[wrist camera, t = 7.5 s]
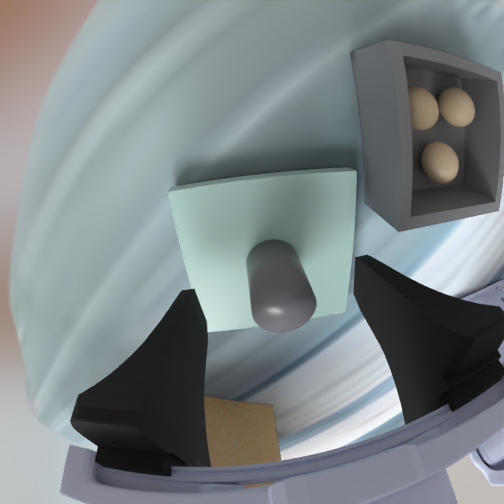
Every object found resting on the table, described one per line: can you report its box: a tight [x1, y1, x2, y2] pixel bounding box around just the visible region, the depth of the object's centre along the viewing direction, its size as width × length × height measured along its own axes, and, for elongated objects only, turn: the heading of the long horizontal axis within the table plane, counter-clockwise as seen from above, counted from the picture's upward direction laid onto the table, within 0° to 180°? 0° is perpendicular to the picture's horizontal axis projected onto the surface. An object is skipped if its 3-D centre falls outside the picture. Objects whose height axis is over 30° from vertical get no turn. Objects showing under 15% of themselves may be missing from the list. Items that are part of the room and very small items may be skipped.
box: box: [350, 40, 504, 232], centre depth 10 cm, size 8×8×4 cm
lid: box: [168, 167, 357, 332], centre depth 13 cm, size 9×9×5 cm
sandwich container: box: [204, 396, 281, 488], centre depth 16 cm, size 9×15×15 cm, turn 69°
